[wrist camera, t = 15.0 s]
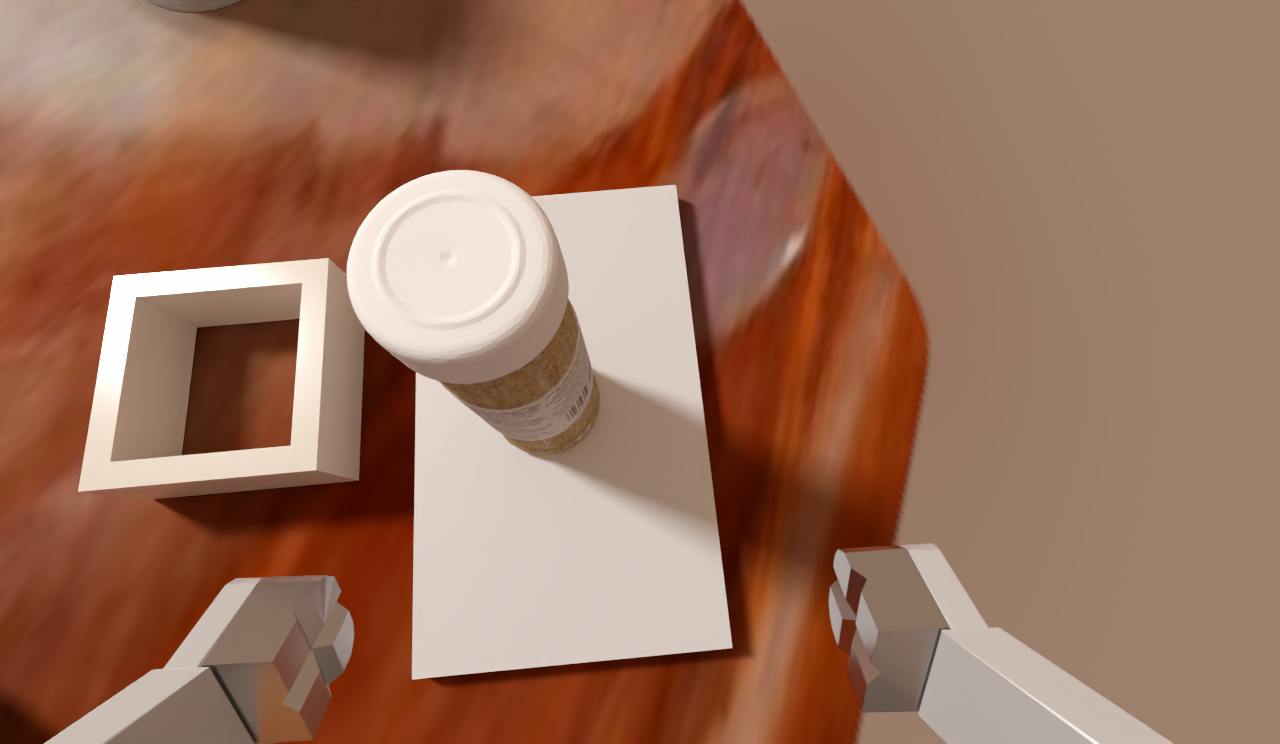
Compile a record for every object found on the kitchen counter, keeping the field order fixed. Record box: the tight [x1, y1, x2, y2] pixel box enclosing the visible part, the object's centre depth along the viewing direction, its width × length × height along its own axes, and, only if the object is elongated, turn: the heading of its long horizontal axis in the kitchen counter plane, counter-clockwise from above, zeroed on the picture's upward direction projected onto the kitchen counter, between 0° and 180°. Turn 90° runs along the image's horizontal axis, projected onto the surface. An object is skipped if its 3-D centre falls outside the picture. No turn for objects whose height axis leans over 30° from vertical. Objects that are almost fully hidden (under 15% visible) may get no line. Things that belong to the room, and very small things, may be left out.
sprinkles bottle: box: [347, 170, 600, 455], centre depth 19 cm, size 5×5×13 cm
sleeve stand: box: [78, 258, 365, 499], centre depth 25 cm, size 9×9×4 cm
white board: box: [412, 185, 733, 679], centre depth 26 cm, size 20×12×1 cm, turn 5°
